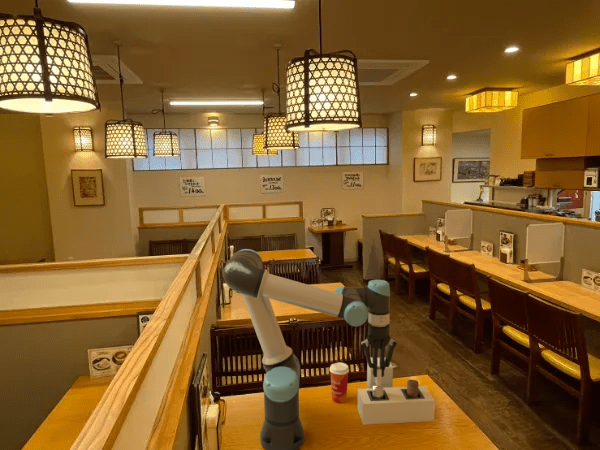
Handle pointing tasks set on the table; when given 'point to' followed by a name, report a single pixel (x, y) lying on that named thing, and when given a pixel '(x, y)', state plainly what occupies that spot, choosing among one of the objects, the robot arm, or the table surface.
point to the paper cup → (339, 382)
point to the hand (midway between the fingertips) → (378, 384)
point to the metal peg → (377, 391)
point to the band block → (395, 406)
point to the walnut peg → (412, 388)
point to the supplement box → (385, 380)
